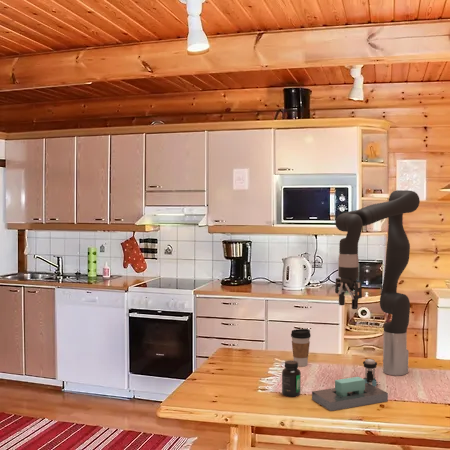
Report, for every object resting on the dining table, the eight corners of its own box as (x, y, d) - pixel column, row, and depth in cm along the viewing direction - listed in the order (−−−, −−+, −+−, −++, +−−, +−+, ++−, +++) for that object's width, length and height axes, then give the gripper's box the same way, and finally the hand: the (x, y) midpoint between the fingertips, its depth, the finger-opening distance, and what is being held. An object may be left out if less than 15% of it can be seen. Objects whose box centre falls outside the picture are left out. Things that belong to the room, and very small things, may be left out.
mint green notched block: (358, 396, 213) (358, 376, 212) (364, 400, 209) (365, 379, 208) (334, 400, 209) (335, 380, 208) (341, 404, 205) (341, 383, 205)
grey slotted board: (367, 390, 219) (367, 382, 219) (387, 401, 208) (387, 393, 208) (311, 399, 210) (312, 391, 210) (330, 411, 199) (330, 402, 199)
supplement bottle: (303, 396, 213) (303, 364, 212) (285, 398, 212) (285, 365, 211) (296, 390, 220) (297, 358, 219) (279, 391, 218) (279, 360, 218)
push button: (379, 383, 227) (379, 358, 226) (381, 388, 222) (382, 362, 221) (361, 383, 228) (362, 358, 227) (363, 387, 222) (364, 362, 222)
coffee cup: (311, 367, 248) (311, 332, 248) (291, 367, 248) (291, 332, 248) (309, 361, 257) (309, 328, 256) (289, 361, 257) (290, 327, 256)
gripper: (367, 267, 220) (367, 309, 221) (345, 262, 233) (345, 303, 234) (351, 268, 217) (350, 311, 218) (329, 263, 230) (329, 304, 231)
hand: (348, 307), depth 226 cm, fingers open, 8 cm apart
